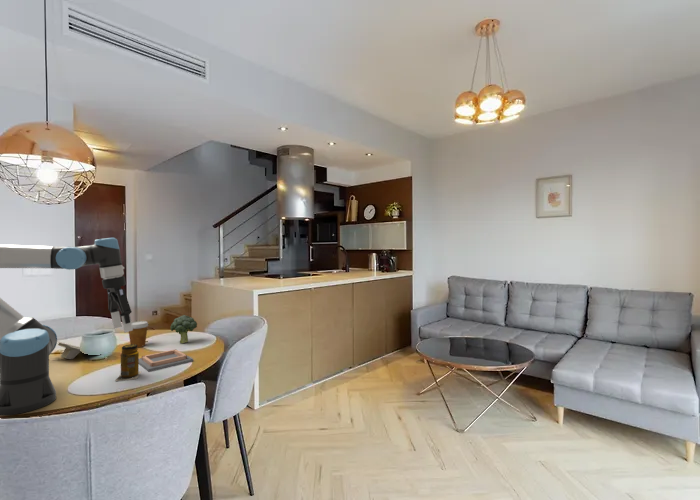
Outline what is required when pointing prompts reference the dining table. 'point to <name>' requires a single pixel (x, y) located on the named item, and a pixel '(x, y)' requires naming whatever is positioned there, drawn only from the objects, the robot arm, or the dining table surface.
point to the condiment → (129, 363)
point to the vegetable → (183, 326)
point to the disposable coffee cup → (138, 333)
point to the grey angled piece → (69, 350)
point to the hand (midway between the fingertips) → (123, 329)
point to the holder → (163, 360)
